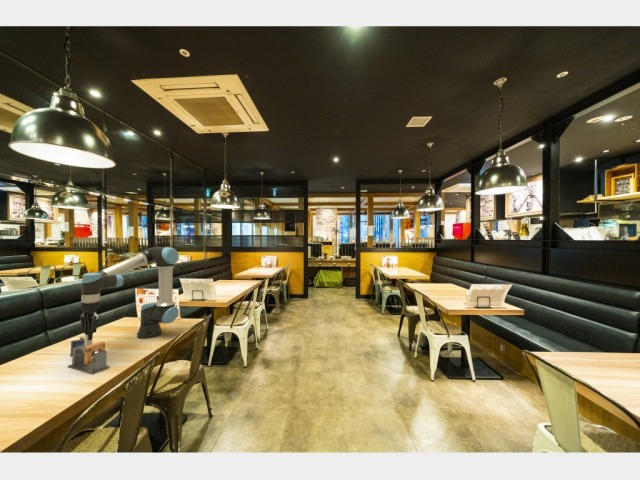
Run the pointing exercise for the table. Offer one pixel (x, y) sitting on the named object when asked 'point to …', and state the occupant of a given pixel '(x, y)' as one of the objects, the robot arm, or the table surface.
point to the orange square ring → (90, 348)
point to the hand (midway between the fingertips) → (88, 345)
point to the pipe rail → (94, 367)
